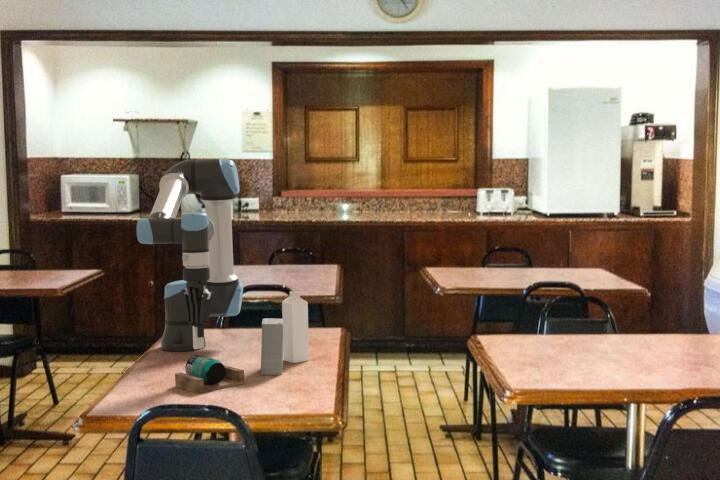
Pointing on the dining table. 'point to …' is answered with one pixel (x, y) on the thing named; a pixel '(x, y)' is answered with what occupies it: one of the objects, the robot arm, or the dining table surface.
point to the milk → (295, 329)
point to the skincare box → (272, 346)
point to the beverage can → (205, 369)
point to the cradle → (199, 386)
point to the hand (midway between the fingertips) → (198, 348)
